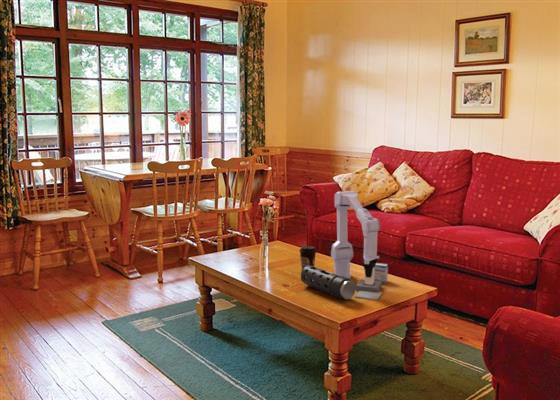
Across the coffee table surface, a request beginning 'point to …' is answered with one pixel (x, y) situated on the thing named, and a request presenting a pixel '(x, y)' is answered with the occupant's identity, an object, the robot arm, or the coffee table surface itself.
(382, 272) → the medicine box
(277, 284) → the coffee table surface
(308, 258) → the coffee cup
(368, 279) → the plug
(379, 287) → the socket block
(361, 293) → the rubber pad
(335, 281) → the muzzle brake
